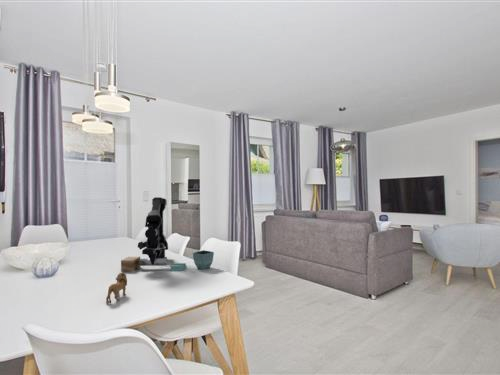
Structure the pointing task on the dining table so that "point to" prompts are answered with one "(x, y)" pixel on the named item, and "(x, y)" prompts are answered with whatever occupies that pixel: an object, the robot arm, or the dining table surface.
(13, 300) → the dining table surface
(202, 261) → the flower pot
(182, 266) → the cradle
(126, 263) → the brown block
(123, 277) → the lion figurine
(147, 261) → the axle
